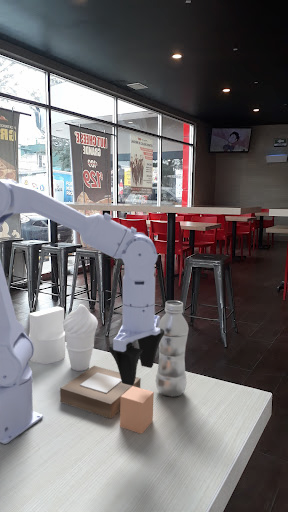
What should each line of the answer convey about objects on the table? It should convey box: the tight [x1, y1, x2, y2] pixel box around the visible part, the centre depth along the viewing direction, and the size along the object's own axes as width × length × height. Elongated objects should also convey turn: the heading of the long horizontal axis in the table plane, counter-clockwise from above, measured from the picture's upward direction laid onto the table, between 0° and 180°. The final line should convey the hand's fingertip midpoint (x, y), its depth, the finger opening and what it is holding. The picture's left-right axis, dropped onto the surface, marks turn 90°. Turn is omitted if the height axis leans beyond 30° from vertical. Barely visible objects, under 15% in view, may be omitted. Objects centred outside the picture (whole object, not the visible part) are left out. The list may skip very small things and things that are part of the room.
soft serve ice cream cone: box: [63, 303, 99, 372], centre depth 95 cm, size 8×8×16 cm
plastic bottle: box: [155, 300, 189, 398], centre depth 84 cm, size 6×7×20 cm
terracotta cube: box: [119, 386, 155, 435], centre depth 74 cm, size 4×4×6 cm
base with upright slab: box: [28, 306, 66, 364], centre depth 101 cm, size 9×9×12 cm
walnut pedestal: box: [59, 365, 142, 419], centre depth 83 cm, size 12×12×3 cm
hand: (137, 374), depth 73 cm, fingers open, 7 cm apart
